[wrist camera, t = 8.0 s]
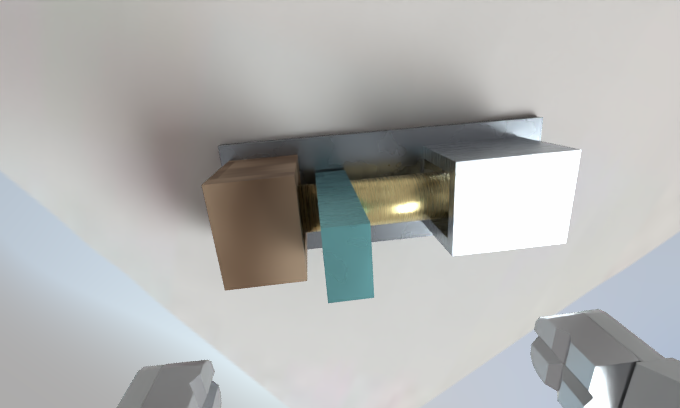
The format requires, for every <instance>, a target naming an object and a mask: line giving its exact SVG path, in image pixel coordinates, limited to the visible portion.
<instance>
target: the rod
mask: <svg viewBox="0 0 680 408" xmlns="http://www.w3.org/2000/svg"><path fill="white" fill-rule="evenodd" d="M315 177H316V184H306V185H298V186H297V193H298V201H299V209H300V217H301V225H302V233H309V232H318V231H321V238H322V248H323V257H324V267H325V277H326V286H327V296H328V303H333V302H342V301H350V300H358V299H366V298H374V287H373V266H372V246H371V226H374V225H383V224H393V223H402V222H411V221H420V220H430V219H439V218H448V217H449V191H450V173H448V172H446V171H439V172H428V173H418V174H408V175H398V176H388V177H378V178H367V179H357V180H349V178H348V176H347V173H346V171H345V170H339V171H329V172H319V173H315Z"/></svg>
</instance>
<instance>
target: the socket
mask: <svg viewBox="0 0 680 408" xmlns="http://www.w3.org/2000/svg"><path fill="white" fill-rule="evenodd" d="M298 185H301V180H300V172H299V164H298V155H288V156H277V157H266V158H256V159H245V160H234V161H228V162H227V163H226V164H225V165H224V166H222V167H221V168H220V169H219V170H218V171H217V172H216V173H215V174H213V175H212V176H211V177H210V178H209V179H208V180H207V181H206V182H204V183H203V184H202V189H203V194H204V198H205V203H206V207H207V212H208V216H209V221H210V225H211V230H212V234H213V239H214V243H215V248H216V252H217V257H218V261H219V266H220V270H221V275H222V279H223V284H224V288H225V290H233V289H241V288H250V287H258V286H267V285H276V284H284V283H293V282H301V281H307V233H302V225H301V217H300V209H299V201H298V193H297V186H298Z"/></svg>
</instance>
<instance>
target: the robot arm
mask: <svg viewBox="0 0 680 408" xmlns="http://www.w3.org/2000/svg"><path fill="white" fill-rule="evenodd" d="M534 330H535V332H536V333H537V334H538V337H537V338H536V340H535V341H534V342H533V343H532V346H531V359H532V362H533V366H534V368H535V370H536V372H537V374H538V375H539V377H540V378H541V379H542V381H543V382H544V383H545V384H546V385H548V386H549V387H551V388H553V389H555V390H556V391H557V396H558V402H559V403H560V404H561V405H562V407H563V408H680V361H679V360H676V359H674V358H664V357H663V356H662V355H660V354H659V353H658V352H656V351H655V350H654V349H653V348H651V347H650V346H649V345H647V344H646V343H645V342H644V341H642V340H641V339H639V338H638V337H637V336H636V335H635V334H633V333H632V332H631V331H629V330H628V329H627V328H626V327H624V326H623V325H622V324H620V323H619V322H618V321H617V320H615V319H614V318H613V317H611V316H610V315H609V314H607V313H606V312H604V311H602V310H599V309H595V310H589V311H581V312H577V313H575V312H574V313H567V314H560V315H553V316H545V317H539V318H538V320H537V321H536V323H535V328H534ZM214 372H215V371H214V368H213V365H212V362H211V361H209V360H201V361H191V362H182V363H173V364H165V365H157V366H146V367H143V368H142V369H141V370H139V371H138V372H137V374H136V375H135V377H134V379H133V380H132V382H131V384H130V386H129V387H128V389H127V391H126V392H125V394H124V396H123V398H122V399H121V401H120V403H119V404H118V406H117V408H221V392H220V389H219V385H217V384H216V383H215V382H213V381H212V378H213V375H214Z"/></svg>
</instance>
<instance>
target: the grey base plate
mask: <svg viewBox="0 0 680 408" xmlns="http://www.w3.org/2000/svg"><path fill="white" fill-rule="evenodd" d="M542 124H543V117H529V118H518V119H507V120H496V121H484V122H473V123H462V124H451V125H439V126H428V127H417V128H406V129H395V130H383V131H372V132H361V133H350V134H338V135H327V136H316V137H305V138H293V139H282V140H271V141H260V142H248V143H237V144H226V145H219V146H218V149H219V154H220V159H221V164H222V166H224V165H225V164H226V163H227V162H228V161H234V160H245V159H256V158H266V157H277V156H288V155H298V164H299V172H300V180H301V185H306V184H316V177H315V173H319V172H329V171H339V170H345V171H346V173H347V176H348V178H349V180H357V179H367V178H378V177H388V176H398V175H408V174H418V173H428V172H439V171H446V172H448V173H450V191H449V217H448V218H439V219H430V220H420V221H411V222H402V223H393V224H383V225H374V226H371V242H377V241H386V240H395V239H404V238H413V237H422V236H431V235H434V236H435V237H436V238H437V240H438V241H439V242H440V243H441V244H442V245H443V246H444V247H445V249H446V250H447V251H448V252H449V253H450V254H451V255H452V256H458V255H467V254H476V253H484V252H493V251H502V250H510V249H519V248H528V247H536V246H545V245H554V244H562V243H566V239H567V233H568V227H569V221H570V215H571V209H572V203H573V197H574V191H575V185H576V179H577V173H578V167H579V161H580V155H581V150H580V149H575V148H570V147H565V146H561V145H556V144H551V143H547V142H542V141H540V140H541V132H542ZM314 248H322V238H321V231H318V232H309V233H307V249H314Z"/></svg>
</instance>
